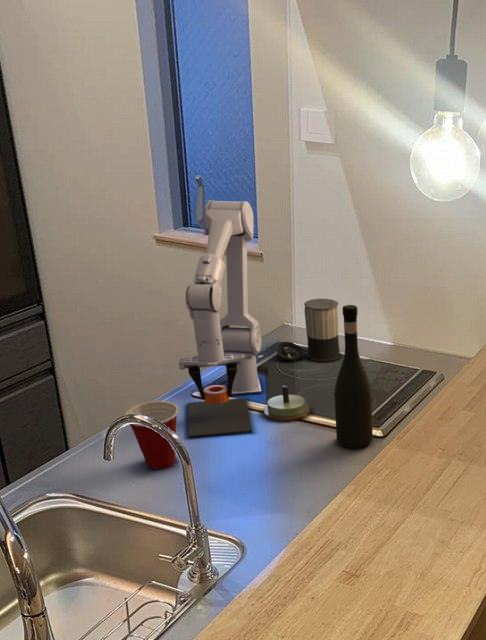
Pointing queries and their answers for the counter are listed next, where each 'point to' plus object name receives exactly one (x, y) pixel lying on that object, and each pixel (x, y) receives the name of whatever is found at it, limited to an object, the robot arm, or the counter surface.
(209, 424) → the mat
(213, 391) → the ring
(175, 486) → the counter surface
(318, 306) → the milk frother
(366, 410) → the wine bottle
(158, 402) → the plastic cup
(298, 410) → the ring stand
